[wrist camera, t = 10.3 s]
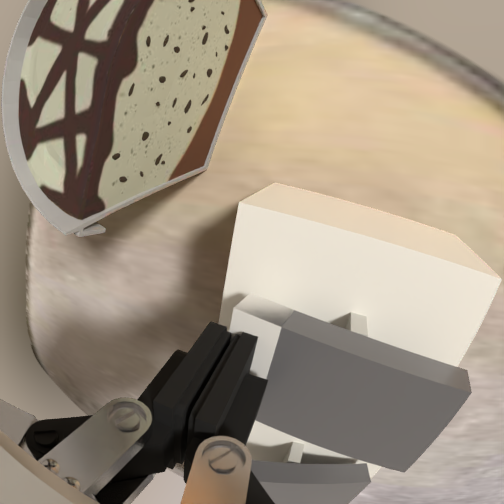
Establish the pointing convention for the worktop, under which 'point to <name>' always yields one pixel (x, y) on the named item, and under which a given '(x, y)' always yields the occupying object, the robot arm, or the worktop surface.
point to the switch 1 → (347, 386)
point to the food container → (119, 98)
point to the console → (354, 284)
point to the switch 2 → (311, 482)
